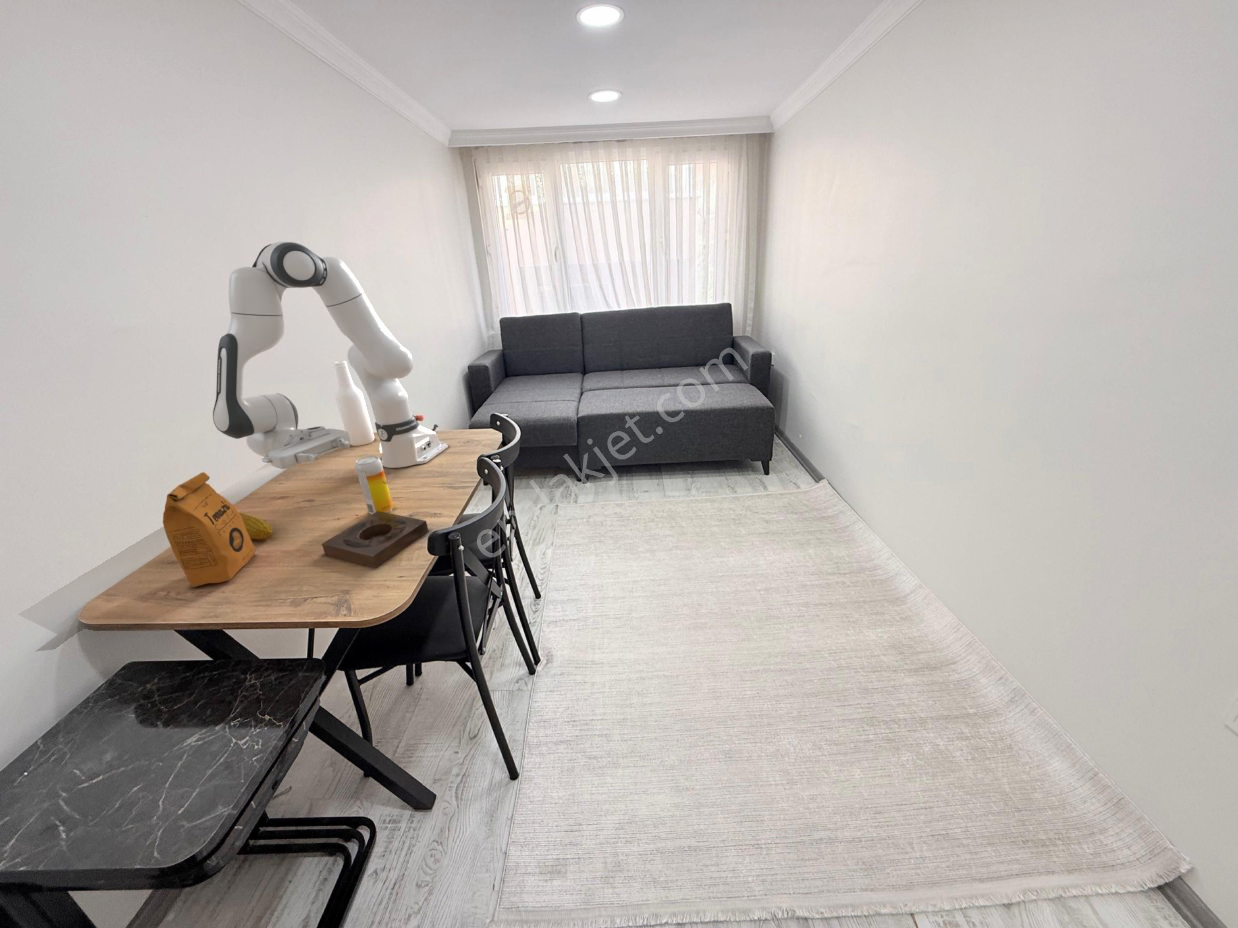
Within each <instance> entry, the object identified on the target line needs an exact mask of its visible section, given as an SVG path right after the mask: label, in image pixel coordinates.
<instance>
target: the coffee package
mask: <svg viewBox="0 0 1238 928" xmlns="http://www.w3.org/2000/svg"><path fill="white" fill-rule="evenodd" d="M209 480H210V476H209V474H207V473H206V472H205V471H202V472H200V473H199V474H197V475H195V476H193V477H191V478H190V479H187V480H186V481H184V482H182V483H180V484H178V485H177V486H176V487H174V489H172V490H171V491H170V492H169V493H167V495H166V500H165V504H164V510H163V513H162V525H163V529H164V531H165V534H166V538H167V540H168V543H169V544H170V548H171V550H172V552H173V554H174V556H175V558H176V560H177V561H178V563H179V565H180V567H181V569H182V571H183V572H184V575H185V577H186V580H187V582H188V584H189V585H190V586H191V587H192V588H197V587H200V586H204V585H208V584H220V583H224V582H226V581H231V580H232V579H233V578H234V577H235V575H236V574H237V573H238V572H240V571H241V569H242V568H243V567H245V566H246V565H247V564H248V563H249V562H250V561H251V559H252V558H253V557H254V556H255V553H256V547H255V546H254V544H253V541H252V538H250V537H249V535H248V533H247V530H246V528H245V525H244V522H243V519H242V517H241V515H240V514H239V511H238V509H237V508H236V507H235V505H233V504H232V503H231V502H230V501H229V500H228V499H227V498H225V497H224V496H222V495H221V494H219V493H218V492H217V491H216V489H214V488H213V487H212V485H210V484H209V483H206V482H208V481H209Z"/></svg>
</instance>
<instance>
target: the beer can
mask: <svg viewBox="0 0 1238 928" xmlns="http://www.w3.org/2000/svg"><path fill="white" fill-rule="evenodd" d="M381 460H382V459H380V458H379V456H377V455H367V456H363V457H360V458H358V459H357V460H355V465H354V468H355V470H356V471H355V472H356V474H357V477H358V481H359V486H360V488H361V491H362V495H363V498H364V502H365V505H366V508H367V512H368V514H370V515H372V514H374V513H375V512H377V511H380V512H385V513H391V512H392V510H393V508H394V503H393V500H392V496H391V492H390V488H389V485H388V480H387V477H386V473H385V470H384V466H382V462H381Z"/></svg>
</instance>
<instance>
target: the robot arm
mask: <svg viewBox="0 0 1238 928" xmlns="http://www.w3.org/2000/svg"><path fill="white" fill-rule="evenodd" d="M228 279H229V280H228V304H229V306H228V307H229V312H230V323H229V327H228V329H227V332H226V333H225V334H224V335H223V336H221V337H220V338H219V342H218V347H217V360H216V361H217V362H216V390H215V391H216V393H215V402H214V405H213V406H214V407H213V411H212V420H213V424H214V425H215V428H216V429H217V431H219V432H220V433H222V434H223V435H225V436H227V437H229V438H233V439H236V440H239V439H243V438H246V445H247V447H248V448H249V449H250V451H252V452H253V453H255V454H256V455H259V456H260V457H263V458H261V461H262V462H263V463H266V464H269V463H270V465H271V466H272V467H273V468H276V469H279V470H287V469H290V468H293V467H296V466H298V465H301V464H303V463H308V462H309V463H315V462H317V461H319V457H321V456H324V455H326V454H328V453H331V452H333V451H336V450H338V449H341V450H346V449H349V448H350V447H351V444H350V443H351V440H350V436H349V433H348V432H347V431H345V429H339V428H338V429H337V428H326V427H325V426H324V425H323V426H322V425H319V426H314V427H308V428H298V427H299V413H298V410H297V407H296V405H295V403H293V401H292V400H290V398H288V396H286V395H284V394H282V393H278V392H277V393H270V394H269V393H268V394H262V395H256V396H249V397H248V396H247V397H243V390H244V388H243V387H244V386H243V385H244V370H245V366H246V364H247V363H248V362H249V361H251V359H252V358H254V357H256V356H258V355H260V354H261V353H264V352H266V351H268V350H271V349H272V348H274V347H275V346H277V345H278V344H279V343H280V341H282V339H283V337H284V335H285V318H284V312H283V305H282V301H283V300H282V299H283V294H284V292H285V291H286V290H287V289H296V288H297V289H302V288H303V289H305V288H312V289H313V290H314V291H315V293H317V294H318V296H319V298H320V300H321V301H322V303H323V305H324V306H325V308H326V310H327V311H328V313H329V315H330V316H331V318H332V319H333V321H334V323H335V325H336V326H337V328H338V330H339V331H340V332H341V333H342V335H344V336H345V337H346V338H347V339H349V341H350V342H351V343H352V344H351V346H350V347H349V348H348V350H347V355H346V356H347V361H348V364H349V365H350V367H351V368H352V369H353V370H354V371H355V372H356V375H357V376H358V378H359V380H360V382H361V384H362V386H363V388H364V391H365V392H366V394H367V397H368V399H369V403H370V407H371V408H372V412H373V416H374V420H375V422H374V426H375V430H376V433H377V436H378V438H379V452H380V453H381V454H380V455H381V459H380V460H381V462H382V466H383V468H384V467H385V468H388V469H389V468H390V469H392V468H393V469H397V468H399V469H400V468H406V467H411V466H414V465H422V464H426V463H428V462H430V461H431V460H432V459H434V458H435V457H436V456H438V455H439V454H441V453H442V452H443V451H445V450H446V449H448V448H449V446H448V443H446V442H443V441H440V439H439V436H438V434H437V433H436V430H437V428H438V427H439V425H438V424H436V423H435V424H433V428H432V429H430V428H427V427H425V426H423V425H422V424H420V423H419V422H423V421H424V415H422V414H416V415H414V414H413V411H412V409H411V408H412V407H411V402H410V399H409V394H408V393H407V391H406V389H405V388H404V387H403V386H402V384H401V383H400V381H399V380H400V379H403V378H405V377H407V376H409V374H410V373H411V372H412V370H413V368H414V359H413V356H412V353H411V352H410V351H409V350H408V349H407V348H406V347H404V346H403V345H402V344H401V343H400V342H399V341H398V339H396V337H395V336H394V335H393V334H392V333H391V331H390V330H389V329H388V328H387V326H386V325H385V324H384V323H383V321H382V320H381V319H380V317H379V316H378V314H377V313H376V310H375V309H374V307H373V305H372V304H371V302H370V300H369V298H368V296H367V295H366V293H365V291H364V289H363V288H362V285H361V284H360V281H358V279H357V278H356V277H355V275H354V273H353V271H351V269H350V268H349V267H348V265H347V264H346V263H345V262H344V261H343V260H342V259H341V258H338V257H335V256H324V257H320V256H319V255H317V254H316V253H315V252H313V251H312V250H311V249H309V248H308V247H306V246H304V245H302V244H300V243H297V242H293V241H277V242H274V243H270V244H267V245H266V246H264V247H263V248H262V249H261V250H260V251H259V253H258V254H257V257H256V259H255V260H254V262H253V264H252V266H244V267H238V268H236V269H234V270H233V271H231V273H230V275H229V278H228Z"/></svg>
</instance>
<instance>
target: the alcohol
mask: <svg viewBox="0 0 1238 928" xmlns="http://www.w3.org/2000/svg"><path fill="white" fill-rule="evenodd" d="M333 365H334V368H335V372H336V377H337V382H338V389H337V392H336V394H335V400H336V404H337V407H338V411H339V413H340V418H341V421H342V425H343V429H344V431H347V432H348V433H349V436H350V440H351V443H350V444H349V445H350V446H353V447H359V446H360V447H361V446H365V445H368V444H371V443H373V442H374V441H375V438H376V437H375V434H374V431H373V426H372V423H371V419H370V416H369V412H368V408H367V404H366V400H365V396H364V394H363V392H362V390H361V389H359V388H358V387H357V386H356V385H355V384H354V381H353V379H352V376H351V373H350V370H349V367H348V364H347V361H346V360H337V361H334V362H333Z"/></svg>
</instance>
